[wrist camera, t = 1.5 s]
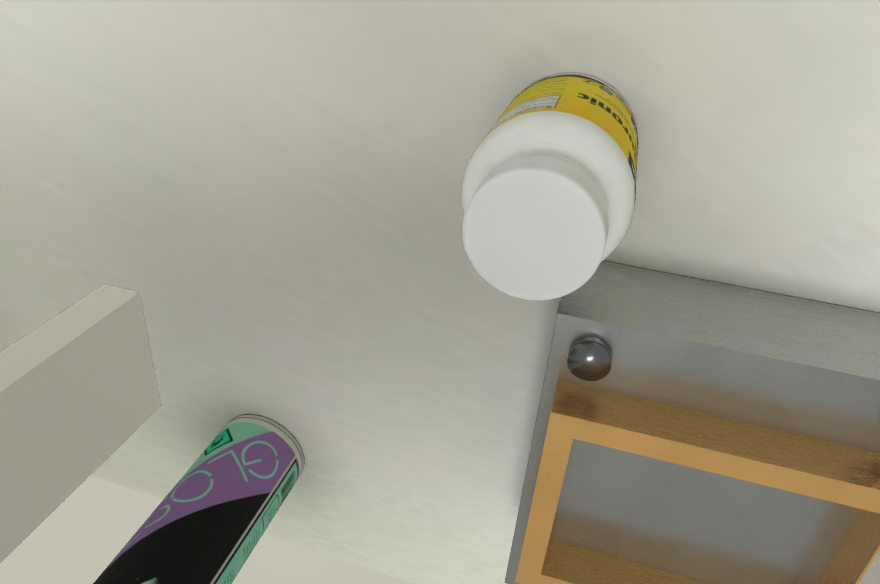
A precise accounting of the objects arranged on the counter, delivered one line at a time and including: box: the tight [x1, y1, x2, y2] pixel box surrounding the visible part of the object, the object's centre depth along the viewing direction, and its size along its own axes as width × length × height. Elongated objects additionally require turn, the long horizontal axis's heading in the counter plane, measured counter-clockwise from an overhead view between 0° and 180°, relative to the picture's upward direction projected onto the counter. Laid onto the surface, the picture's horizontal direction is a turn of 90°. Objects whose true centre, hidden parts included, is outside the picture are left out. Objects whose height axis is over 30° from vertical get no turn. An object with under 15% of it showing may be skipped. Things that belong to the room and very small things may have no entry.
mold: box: [505, 261, 880, 584], centre depth 28 cm, size 14×16×7 cm
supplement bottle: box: [461, 73, 638, 301], centre depth 22 cm, size 5×5×10 cm
